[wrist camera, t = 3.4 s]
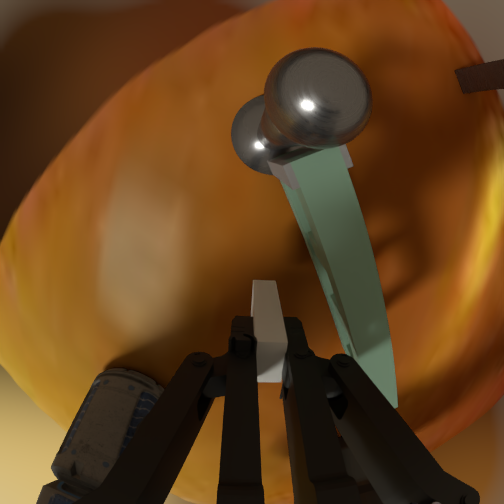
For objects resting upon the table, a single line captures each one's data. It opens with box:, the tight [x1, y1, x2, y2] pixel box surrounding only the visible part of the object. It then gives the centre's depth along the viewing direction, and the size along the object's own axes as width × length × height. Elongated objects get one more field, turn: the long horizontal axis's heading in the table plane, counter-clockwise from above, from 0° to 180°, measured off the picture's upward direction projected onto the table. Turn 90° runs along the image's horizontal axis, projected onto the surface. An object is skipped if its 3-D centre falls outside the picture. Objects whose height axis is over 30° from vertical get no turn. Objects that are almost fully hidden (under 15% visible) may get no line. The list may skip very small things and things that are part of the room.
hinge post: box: [231, 47, 372, 175], centre depth 12 cm, size 6×6×15 cm
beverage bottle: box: [36, 368, 165, 504], centre depth 16 cm, size 10×13×25 cm
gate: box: [267, 144, 398, 409], centre depth 17 cm, size 17×3×9 cm, turn 24°
